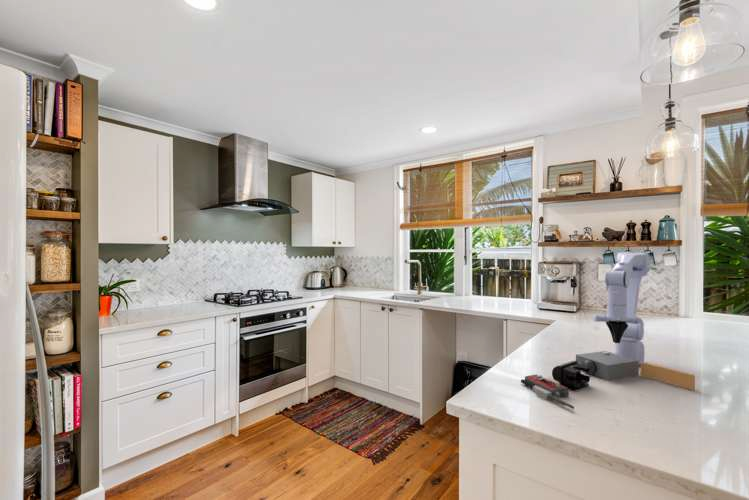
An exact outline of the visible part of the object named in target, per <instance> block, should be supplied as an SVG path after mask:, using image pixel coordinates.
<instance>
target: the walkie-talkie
mask: <svg viewBox="0 0 749 500" xmlns="http://www.w3.org/2000/svg"><path fill="white" fill-rule="evenodd" d="M520 383H522V384H523V385H524V386H525V387H527V388H529V389H531V390H533V391H534V393H535V395H537V396H538V397H539V398H542V399H543V400H545V401H548V400H550V401H554V402H555V403H558V404H560V405H562V406H565V407H568V408H570V409H572V410H574V409H575V407H574V405H572V404H570V403H568V402H565V400H561V398H568V397H569V395H570V394H569V390H568V388H567V387H564V386H562V385H561V384H560V382H559V381H556V380H554V379H553V377H552V378H551V377H543V375H542V374H540V375H538V374H530V375H526V376H524V379H523V378H522V379H520Z"/></svg>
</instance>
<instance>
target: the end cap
mask: <svg viewBox="0 0 749 500" xmlns="http://www.w3.org/2000/svg"><path fill="white" fill-rule="evenodd" d="M581 371H582V372H584V371H586V372H590V367H587V366H584V365H580V364H578V361H576V360H571V361H568V362H564V363H561V364H559V365H556V366H554V367H553V368H552V371H551V375H552V379H554V380H556V381H559V382H560V384H561V385H562V386H564V387H567V388H568V391H572V392H578V391H580V390H582V389H584V388H587V387H590V384H589V383H590V379H591V377H590V375H587V374H584V373H582V372H581ZM586 372H585V373H586Z"/></svg>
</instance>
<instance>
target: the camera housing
mask: <svg viewBox="0 0 749 500" xmlns="http://www.w3.org/2000/svg"><path fill="white" fill-rule="evenodd" d="M575 361H578V364H580V365H584V366H587V367H590V372H586V371H583V372H584V373H585V374H586V375H587V374H588V375H592V376H595V377H598V378H601V379H603V380H606V381H612V380H617V379H623V378H629V377H636V376H639V374H640V373H639V372H640V369H639V368H640V367H639V366H640V365H639V361H638V360H634V359H631V358H628V357H624V356H621V355H617V354H615V352H610V351H606V350H604V351H603V350H602V351H595V352H594V351H593V352H587V353H585V352H584V353H579V354H577V353H576V354H575Z"/></svg>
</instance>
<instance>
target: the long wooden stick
mask: <svg viewBox="0 0 749 500" xmlns="http://www.w3.org/2000/svg"><path fill="white" fill-rule="evenodd" d="M645 362H646V361H644V362H641V365H640V376H642V377H645V378H649V379H652V380H655V381H656V380H657V381H659V382H664V383H666V384H667V383H668V384H670V385H674V386H678V387H681V388H686V389H688V390H693V391H695V390H696V374H693V373H689V372H684V371H681V370H677V369H673V368H669V367H664V366H661V365H657V364H654V363H653V364H652V363H648V362H647V363H645Z"/></svg>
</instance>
